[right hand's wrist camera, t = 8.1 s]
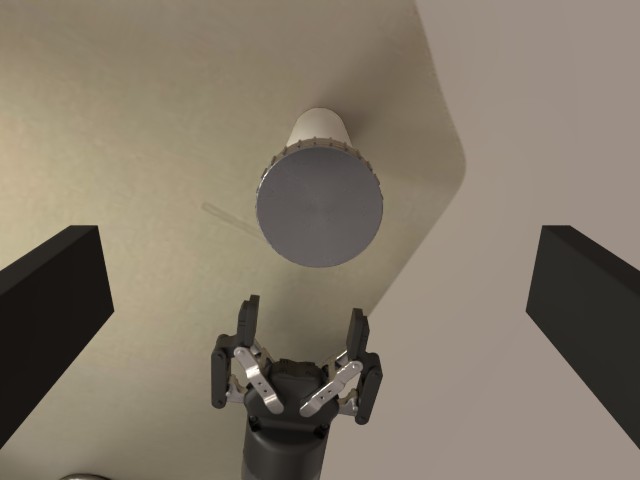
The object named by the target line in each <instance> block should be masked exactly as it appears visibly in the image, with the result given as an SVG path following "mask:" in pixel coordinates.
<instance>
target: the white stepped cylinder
mask: <svg viewBox="0 0 640 480" xmlns="http://www.w3.org/2000/svg"><path fill="white" fill-rule="evenodd" d="M314 136H316V138H327V139H329V137H332V139H333V140H336V141H339V142H342V143H344V142H346V143H347V145H348V146H350V147H352V148H353V146H352V144H351V141H350V139H349V136H348V134H347V131H346V128H345V126H344V123H343V121H342V120H341V118H340V117H339V116H338V115H337V114H336V113H335V112H333V111H331V110H329V109H326V108H313V109H310V110H308V111H306V112H304V113H303V114H302V115H301V116H300V117H299V118H298V120H297V121H296V123H295V125H294V128H293V130H292V133H291V136H290V138H289V141H288V143H287V147H289V146H290V145H292V144H294V143H297V142H298V140H300V139H301V141H302V140H306V139H312V138H314Z"/></svg>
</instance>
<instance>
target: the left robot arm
mask: <svg viewBox="0 0 640 480" xmlns="http://www.w3.org/2000/svg"><path fill="white" fill-rule="evenodd" d="M259 298H260V296H259V295H251V297H250V300H249V301H246V300H244V302H243V304H242V305H241V308H240V312H239V316H238V327H237V334H236V335H234V336H228V335H226V334H222V335H220V336H219V337H218V339H217V342H216V346H215V349H214V350H213V352H212V355H211V386H212V405H213V406H214V407H215V408H218V409H221V408H223V407H225V405H226V402H238V403H244V405H245V407H246V409H247V411H248V415H247V424H246V434H245V443H244V449H243V461H242V472H241V478H242V480H319V479H320V474H321V469H322V464H323V459H324V454H325V449H326V444H327V439H328V434H329V429H330V424H331V421H332V420H333V419H334V418H335V417H336V416H337V414H344V415H350V416H355V422H356V423H357V424H359V425H364V424H366V423H367V422H368V421H369V418H370V415H371V412H372V408H373V405H374V402H375V399H376V396H377V393H378V390H379V387H380V384H381V380H382V377H383V374H382V369H381V364H380V359H379V356H378V354H376V353H367V352H366V351H365V350H366V345H367V341H368V336H369V331H370V330H369V325H368V320H367V316H363V312H362V309H358V308H353V311H352V316H351V321H350V326H349V331H348V336H347V341H346V345H347V348H345V349H344V350H343V351H342V352H340V353H339V354H338V355H337V356H331V357H330V358H328V359H327V360H326V361H325V362H324V363H322V364H321V365H320V366H319V367H318V366H315V363H314V362H294V361H291V360H288V359H280V361H277V362H275V361H274V360H273V359H272V357H271V356H270V354H269V353H268V352H267V350H266V349H265V348H264V347H263V348H262V347H261V346H260V345H259V343H258V342H257V341H256V339H255V338H254V337H255V333H256V326H257V316H258V307H259ZM233 357H236V358H237V360H238V361H239V362H240V364H241V365H242V366H243V368H244V369H245V371H246V375H247V378H248V380H249V381H250V383H249V384H248V385H247V386H246V388H244V387H242V386H240V385H239V382H238V379H237V378H236V376H235V375H234V374H232V375H231V358H233ZM359 372H361V375H360V378H359V381H358V385H357V388H356V389H355V388H353V389H351V392H349V393H348V395H347V396H346V397H345V398H342V399H340V398H339V396H338V393H339V392H340V391H342V390H343V388H344V387H345V384H346V383H347V382H348V381H349V380H350V379H352V378H353V377H354V376H355V375H357V374H358V373H359ZM328 377H329V378H328ZM61 480H106V479H103V478H100V477H97V476H92V475H72V476H68V477H65V478H63V479H61Z"/></svg>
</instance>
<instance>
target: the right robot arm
mask: <svg viewBox="0 0 640 480" xmlns="http://www.w3.org/2000/svg"><path fill="white" fill-rule="evenodd" d="M113 312H114V307H113V302H112V297H111V291H110V286H109V281H108V276H107V271H106V266H105V261H104V255H103V250H102V245H101V240H100V235H99V230H98V225H70V226H69V227H67V228H66V229H64V230H62V231H61V232H59V233H58V234H56V235H55V236H53V237H52V238H50V239H49V240H47V241H46V242H44V243H43V244H41V245H39V246H38V247H36V248H35V249H33V250H32V251H30V252H29V253H27V254H26V255H24V256H23V257H21V258H20V259H18V260H16V261H15V262H13V263H12V264H10V265H9V266H7V267H6V268H4V269H3V270H1V271H0V449H1V448H2V447H3V446H4V444H5V443H6V442H7V441H8V440H9V438H10V437H11V436H12V435H13V433H14V432H15V431H16V430H17V429H18V427H19V426H20V425H21V424H22V423H23V421H24V420H25V419H26V418H27V417H28V415H29V414H30V413H31V412H32V410H33V409H34V408H35V407H36V406H37V404H38V403H39V402H40V401H41V400H42V398H43V397H44V396H45V395H46V394H47V392H48V391H49V390H50V389H51V387H52V386H53V385H54V384H55V383H56V381H57V380H58V379H59V378H60V377H61V375H62V374H63V373H64V372H65V371H66V369H67V368H68V367H69V366H70V365H71V363H72V362H73V361H74V360H75V358H76V357H77V356H78V355H79V354H80V352H81V351H82V350H83V349H84V348H85V346H86V345H87V344H88V343H89V342H90V340H91V339H92V338H93V337H94V335H95V334H96V333H97V332H98V331H99V329H100V328H101V327H102V326H103V325H104V323H105V322H106V321H107V320H108V319H109V317H110V316H111V315H112V314H113ZM526 312H527V314H528V315H529V316H530V317H531V319H532V320H533V321H534V322H535V323H536V325H537V326H538V327H539V328H540V329H541V331H542V332H543V333H544V334H545V335H546V337H547V338H548V339H549V340H550V342H551V343H552V344H553V345H554V346H555V348H556V349H557V350H558V351H559V352H560V354H561V355H562V356H563V357H564V358H565V360H566V361H567V362H568V363H569V365H570V366H571V367H572V368H573V369H574V371H575V372H576V373H577V374H578V375H579V377H580V378H581V379H582V380H583V381H584V383H585V384H586V385H587V386H588V388H589V389H590V390H591V391H592V392H593V394H594V395H595V396H596V397H597V398H598V400H599V401H600V402H601V403H602V404H603V406H604V407H605V408H606V409H607V410H608V412H609V413H610V414H611V415H612V417H613V418H614V419H615V420H616V421H617V423H618V424H619V425H620V426H621V427H622V429H623V430H624V431H625V432H626V433H627V435H628V436H629V437H630V438H631V440H632V441H633V442H634V443H635V444H636V446H637V447H638V448H639V449H640V271H639V270H637V269H636V268H634V267H633V266H631V265H630V264H628V263H627V262H625V261H624V260H622V259H620V258H619V257H617V256H616V255H614V254H613V253H611V252H610V251H608V250H607V249H605V248H604V247H602V246H601V245H599V244H597V243H596V242H594V241H593V240H591V239H590V238H588V237H587V236H585V235H584V234H582V233H581V232H579V231H578V230H576V229H574V228H573V227H571V226H570V225H543V226H542V230H541V235H540V240H539V245H538V250H537V255H536V261H535V266H534V271H533V276H532V281H531V286H530V291H529V297H528V302H527V307H526Z"/></svg>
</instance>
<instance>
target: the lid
mask: <svg viewBox="0 0 640 480" xmlns="http://www.w3.org/2000/svg"><path fill="white" fill-rule="evenodd" d="M372 171H373V169H372V167H371V165H370V163H369V161H367V162H366V160H365V159H364V158H363V157H362V156H361V154H360V152H359V150H357V151H356V150H354V149H353V148H352V147H350V146H348V145H347V143H346V142H344V143H342V142H339V141H336V140H333V139H332V137H329V139H327V138H316V136H314V138H312V139H306V140H302V141H301V139H300V140H298V142H297V143H294V144H292V145H290V146H289V147H287V146H285V147H284V150H283V151H282V152H280V153H279V154H278V155H277V156H274V157H273V159H272V161H271V163H270V165H269V167H268V169H267V168H266V169H265V171H264V173H263V175H262V177H261V178H262V181H261V183H260V185H259V187H258V189H257V191H256V193H257V197H256V205H255V208H256V216H257V221H258V224H259V227H260V230H261V232H262V234H263V236H264V238H265V239H266V241H267V242H268V243H269V244H270V246H271V247H272V248H273V249H274V250H275V251H276V252H278V253H279V254H280V255H281V256H283V257H284V258H286V259H288V260H290V261H292V262H294V263H297V264H299V265H303V266H307V267H331V266H335V265H339V264H342V263H344V262H347V261H349V260H351V259H353V258H354V257H356V256H357V255H359V254H360V253H361V252H362V251H363V250H364V249H366V247H367V246H368V245H369V244H370V243H371V241H372V240H373V238H374V237H375V235H376V233H377V231H378V229H379V226H380V223H381V219H382V214H383V201H382V200H383V196H382V194H381V190H380V187H379V185H380V182H379V180H378V178H377V176H376V174H373V172H372Z"/></svg>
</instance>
